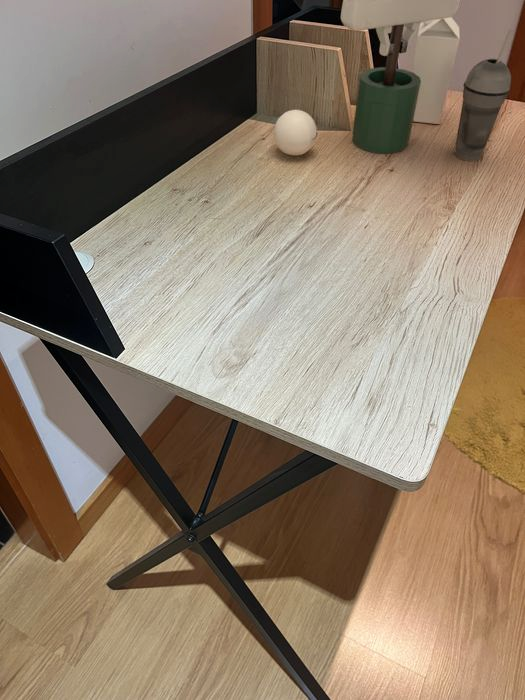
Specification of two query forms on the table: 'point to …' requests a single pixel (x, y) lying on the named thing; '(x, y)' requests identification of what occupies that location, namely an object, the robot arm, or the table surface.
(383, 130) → the jar
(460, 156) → the beverage cup
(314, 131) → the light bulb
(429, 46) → the milk carton
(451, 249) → the table surface
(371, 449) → the table surface
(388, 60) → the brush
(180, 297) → the table surface
